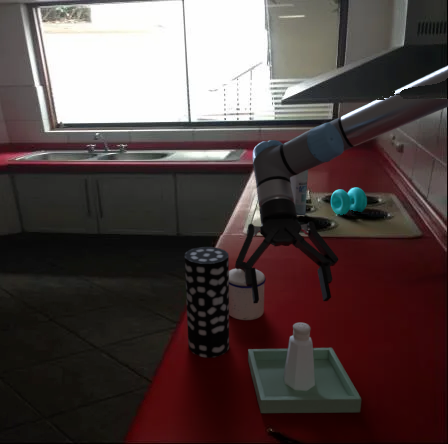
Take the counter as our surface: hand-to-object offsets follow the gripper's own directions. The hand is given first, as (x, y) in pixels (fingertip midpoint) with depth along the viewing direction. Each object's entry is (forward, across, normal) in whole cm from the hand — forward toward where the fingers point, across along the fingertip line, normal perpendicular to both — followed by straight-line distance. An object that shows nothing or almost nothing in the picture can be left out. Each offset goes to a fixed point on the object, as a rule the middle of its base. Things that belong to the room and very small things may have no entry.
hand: (291, 300), depth 81 cm
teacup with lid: (-3, +8, -17) cm, 19 cm away
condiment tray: (+15, +1, +1) cm, 15 cm away
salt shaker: (+15, +1, +1) cm, 15 cm away
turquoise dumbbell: (-53, -43, -67) cm, 96 cm away
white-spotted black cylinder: (+7, +16, -7) cm, 19 cm away
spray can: (-54, -24, -68) cm, 90 cm away
